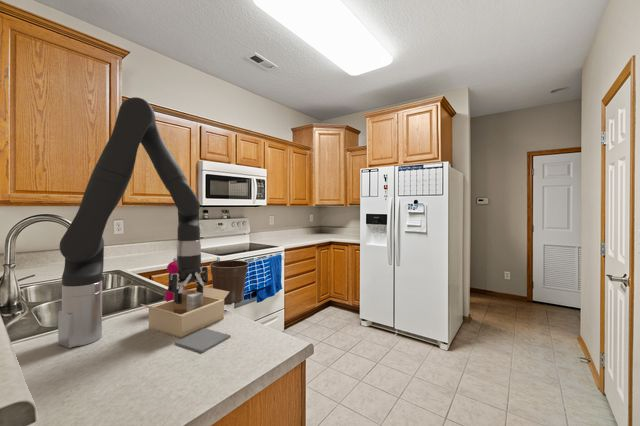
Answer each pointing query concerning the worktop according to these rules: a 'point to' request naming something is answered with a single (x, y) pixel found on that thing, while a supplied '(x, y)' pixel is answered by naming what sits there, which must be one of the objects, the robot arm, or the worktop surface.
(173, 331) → the carton
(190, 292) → the block
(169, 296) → the pepper mill
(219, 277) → the plant pot
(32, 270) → the worktop surface
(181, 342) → the plate
